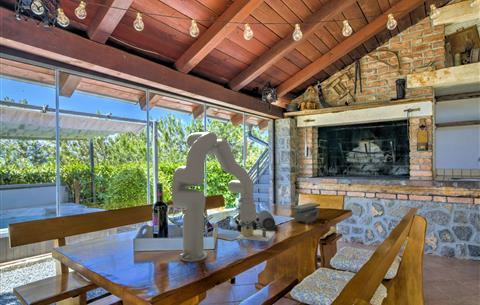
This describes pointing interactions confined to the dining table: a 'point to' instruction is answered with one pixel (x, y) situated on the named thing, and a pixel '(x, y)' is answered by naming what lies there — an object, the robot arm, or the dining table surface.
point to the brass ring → (247, 231)
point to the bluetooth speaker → (266, 220)
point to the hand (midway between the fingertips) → (247, 230)
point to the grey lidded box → (306, 212)
